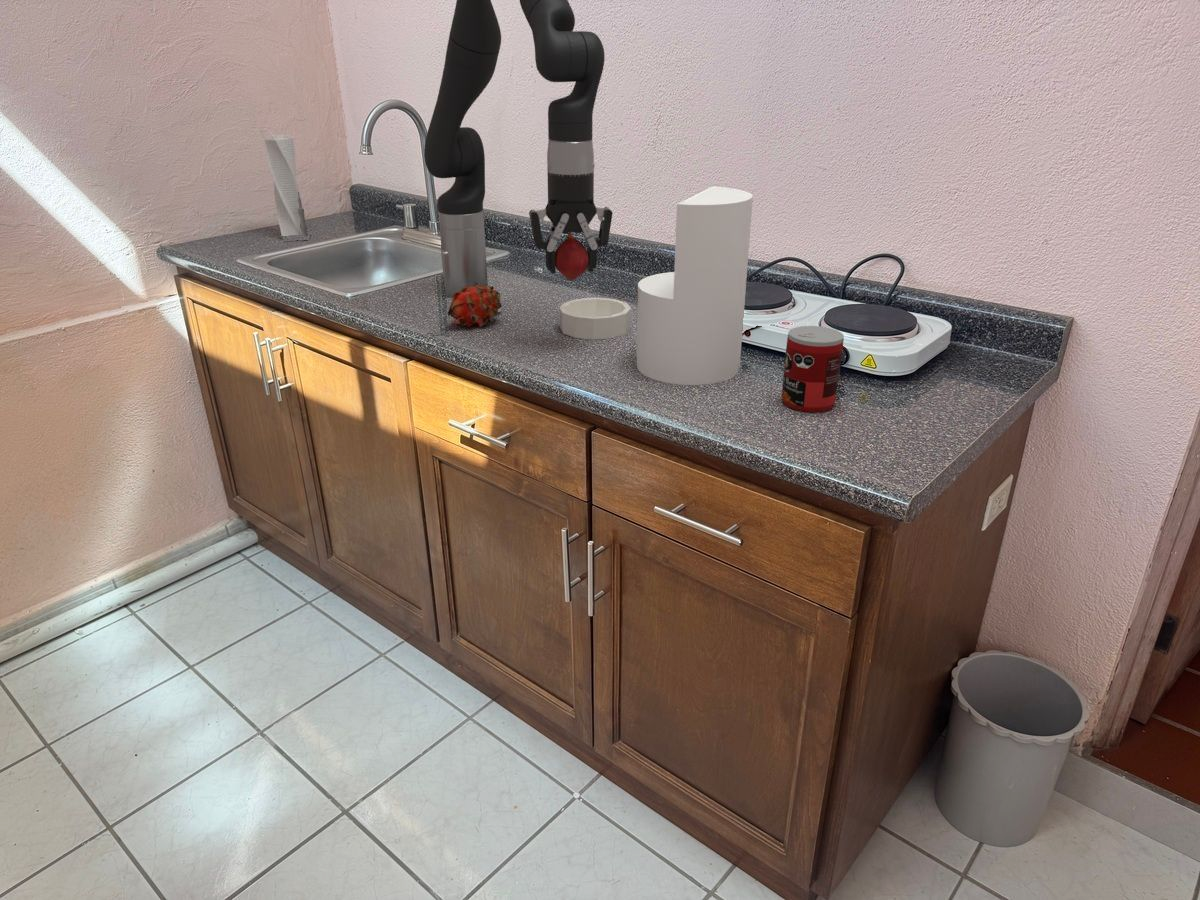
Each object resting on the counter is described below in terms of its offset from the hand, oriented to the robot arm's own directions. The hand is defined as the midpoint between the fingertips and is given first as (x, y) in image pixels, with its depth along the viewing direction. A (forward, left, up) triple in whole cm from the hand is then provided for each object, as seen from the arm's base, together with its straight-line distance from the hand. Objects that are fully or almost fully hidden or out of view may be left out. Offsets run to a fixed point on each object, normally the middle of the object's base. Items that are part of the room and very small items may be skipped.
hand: (571, 271), depth 144 cm
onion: (0, 0, -2) cm, 2 cm away
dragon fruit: (-16, +17, -14) cm, 27 cm away
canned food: (+30, -32, -14) cm, 46 cm away
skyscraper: (-58, +104, -14) cm, 120 cm away
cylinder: (+17, -13, -14) cm, 26 cm away
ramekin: (+6, +10, -14) cm, 18 cm away
